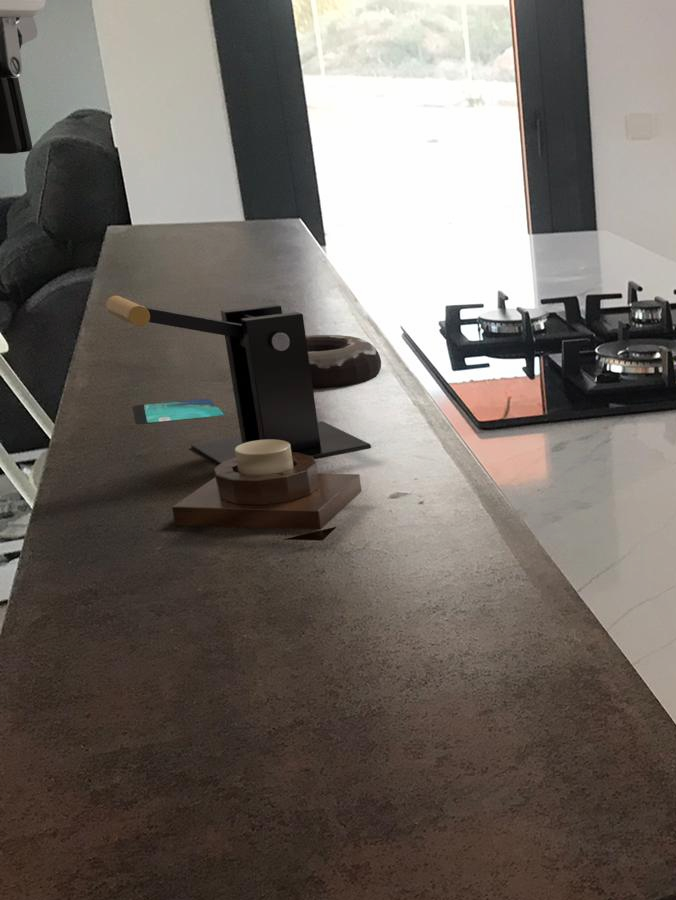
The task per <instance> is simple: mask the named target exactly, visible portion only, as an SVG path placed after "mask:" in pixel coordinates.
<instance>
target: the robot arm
mask: <svg viewBox="0 0 676 900" xmlns="http://www.w3.org/2000/svg"><path fill="white" fill-rule="evenodd" d="M45 6H46V0H0V155H1V154H2V155H14V154H19V153H28V152H31V150H32V149H33V141H32V137H31V132H30V128H29V123H28V119H27V114H26V109H25V104H24V99H23V95H22V89H21V85H20V80H19V78H20V77H21V76H22V75H23V65H22V56H21V49H22V46H23V45H24V44H26V43H28V42H30V41H33V40H34V39H36V38H37V37H38V27H37V24H36V21H35V18H34V17H35V16H36V15H38V14H39V13H40V12H41V11H43V9H44V7H45Z"/></svg>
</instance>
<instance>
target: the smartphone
mask: <svg viewBox="0 0 676 900" xmlns="http://www.w3.org/2000/svg"><path fill="white" fill-rule="evenodd" d="M132 412H133V418H134V423H135V424H136V425H149V424H159V423H167V422H168V423H169V422H177V421H188V420H197V419H198V420H199V419H206V418H215V417H224V416H226V414H225V413H224V412H223V411H222V410H221V409H220V407H218V405H216V404H215V403H214V402H213V401H212V400H211V399H210V398H202V399H190V400H188V399H187V400H178V401H177V400H176V401H167V402H157V403H155V402H154V403H146V404H145V403H143V404H137V405H134V406H132Z"/></svg>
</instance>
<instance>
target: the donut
mask: <svg viewBox="0 0 676 900" xmlns="http://www.w3.org/2000/svg"><path fill="white" fill-rule="evenodd" d="M306 342H307V349H308V356H309V364H310V371H311V378H312V385H313V390H322V389H333V388H343V387H347V386H353V385H357V384H362V383H364V382H368V381H370V380H372V379H374V378H376V377H377V376H378V375H379V374H380V371H381V369H382V360H381V355H380V353H379V351H378V349H376V347H375V346H374V345H373V344H371V342H369V341H367V340H364V339H362V338H360V337H355V336H351V335H341V334H313V335H306Z"/></svg>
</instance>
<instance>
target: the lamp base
mask: <svg viewBox="0 0 676 900" xmlns="http://www.w3.org/2000/svg"><path fill="white" fill-rule="evenodd" d="M292 459H293V466H294V467H293V468H292V469H290V470H286V471H283V472H280V473H272V474H264V475H244V474H241V473H238V467H237V461H236V458H233V459H229V460H226V461H224V462H222V463H221V464H220V465H218V464H217V465H216V466H215V467H214V469H213V472H214V477H213V478H211V480H208V481H207V482H206V483H205V484H203V485H202V486H200V487H199V488H197V489H196V490H194V491H193V492H192V493H190V494H188V495H187V496H185V498H183V499H181V500H180V501H179V502H177V503H176V504H174V505H173V506H172V507H171V508H172V509H171V510H172V514H173V519H174V525H175V526H192V527H195V526H196V527H226V528H227V527H228V528H229V527H230V528H231V527H232V528H259V529H260V528H263V529H265V528H266V529H295V530H296V529H297V530H298V529H299V530H300V529H302V530H303V529H304V530H317V531H313V532H312V531H311V532H309V533H304V534H300V535H294V536H291V537H286V538H282V540H285V541H317V542H318V541H321V542H322V541H324V540H325V539H326V538H327V537H328V536H329V535H330V534H332V532H333V531H334V530H336V529H337V526H334V527H329V528H325V529H323V528H324V527H325V526H326V525H327V524H329V522H331V521H332V520H333V519H334V518H335V517H336V516H337V515H339V514H340V512H341V511H342V510H343V509H345V508H346V507H347V506H348V505H349V504H350V503H351V502H352V501H353V500H354V499H355V498H357V496H358V495H360V493H362V484H361V475H360V474H359V473H357V474H354V473H321V472H320V473H319V472H318V465H317V462H316V459H314V458H313V457H312V456H308V455H304V454H300V453H295V452H292Z"/></svg>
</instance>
